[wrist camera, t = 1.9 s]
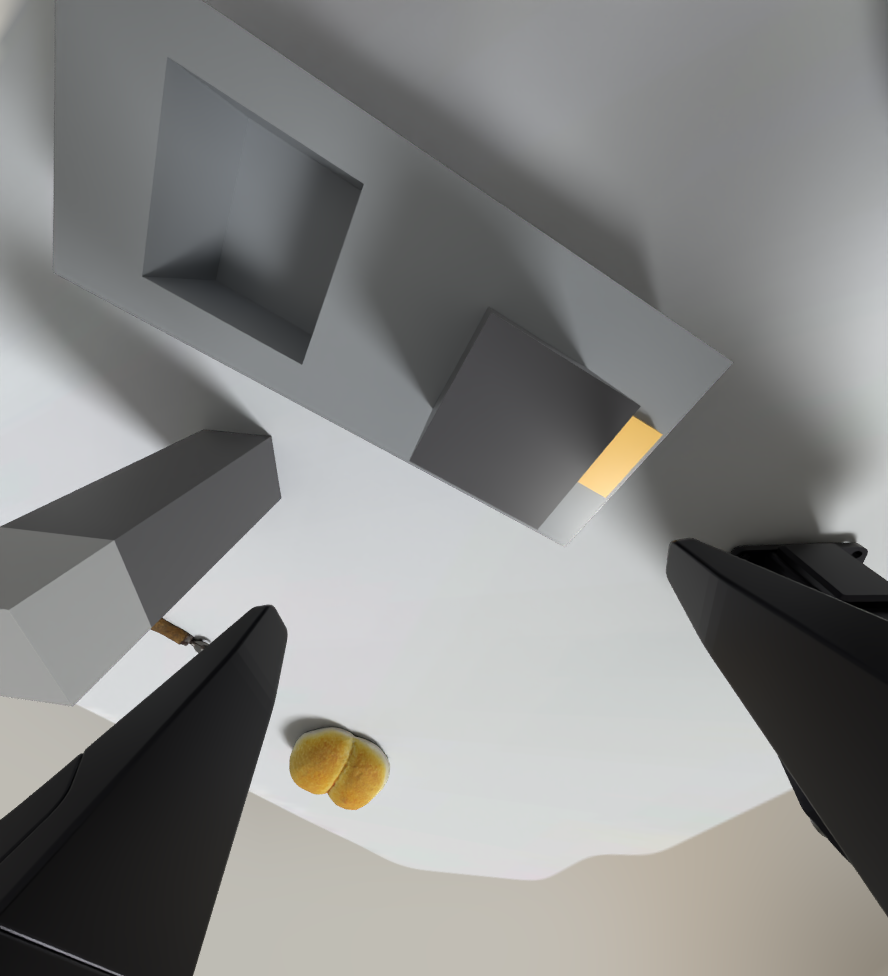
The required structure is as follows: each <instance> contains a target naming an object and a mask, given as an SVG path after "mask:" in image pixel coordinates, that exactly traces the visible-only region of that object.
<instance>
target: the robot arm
mask: <svg viewBox="0 0 888 976" xmlns="http://www.w3.org/2000/svg"><path fill="white" fill-rule="evenodd" d="M867 553H868V551H867V549H866V548H864V547H863V546H861V545H860V544H858V543H819V544H785V545H758V546H739V547H737V548H735V549H734V550H732V552H731V554H729V553H727V552H725V551H722V550H720V549H718V548H715V547H713V546H710V545H708V544H706V543H703V542H701V541H699V540H696V539H693V538H686V539H679V540H674V541H672V542H671V543H670V545H669V550H668V558H667V566H666V574H667V578H668V580H669V582H670V584H671V586H672V588H673V590H674V592H675V593H676V595H677V597H678V599H679V601H680V603H681V605H682V606H683V608H684V610H685V612H686V614H687V616H688V618H689V620H690V621H691V623H692V625H693V627H694V629H695V631H696V633H697V634H698V636H699V638H700V640H701V641H702V643H703V645H704V646H705V648H706V650H707V651H708V653H709V654H710V656H711V657H712V659H713V660H714V662H715V663H716V665H717V666H718V668H719V669H720V671H721V672H722V673H723V675H724V676H725V678H726V679H727V681H728V682H729V684H730V685H731V687H732V688H733V690H734V691H735V693H736V694H737V696H738V697H739V699H740V700H741V701H742V703H743V704H744V706H745V707H746V709H747V710H748V712H749V713H750V715H751V716H752V718H753V719H754V721H755V722H756V724H757V725H758V727H759V728H760V729H761V731H762V732H763V734H764V735H765V737H766V738H767V740H768V741H769V743H770V744H771V746H772V747H773V749H774V750H775V752H776V753H777V755H778V757H779V759H780V761H781V763H782V766H783V768H784V770H785V772H786V774H787V776H788V779H789V781H790V783H791V785H792V787H793V790H794V791H795V794H796V796H797V798H798V801H799V803H800V805H801V807H802V809H803V810H804V812H805V813H806V814H807V815H808V817H810V820H811V822H812V824H813V826H814V827H815V828H816V829H817V831H818V832H819V833H820V834H821V835H822V836H824V837H826V838H828V840H829V841H830V842H831V843H832V844H833V845H834V846H835V847H836V849H837V850H838V851H839V852H840V853H841V854H842V855H843V856H844V857H845V858H846V859H847V860H848V861H849V862H850V863H851V864H852V865H853V867H854V868H855V870H856V871H857V872H858V874H859V875H860V877H861V878H862V880H863V881H864V883H865V884H866V886H867V887H868V889H869V890H870V892H871V893H872V895H873V896H874V897H875V899H876V900H877V902H878V903H879V905H880V906H881V908H882V909H883V911H884V912H885V914H886V915H887V917H888V581H887V580H885V579H884V578H882V577H881V576H880V575H878V574H877V573H875V572H874V571H873V570H871V569H870V568H868V567H867V566H865V565H864V564H863V562H864V560H865V558H866V556H867ZM743 554H744V555H743ZM741 555H743V556H741ZM740 556H741V557H740ZM286 643H287V629H286V626H285V625H284V623H283V621H282V619H281V618H280V616H279V614H278V612H277V610H276V609H275V607H274V606H272V605H263V606H257V607H254V608H252V609H251V610H249V611H248V612H247V613H246V614H245V615H243V616H242V617H241V618H240V619H239V620H238V621H236V622H235V623H234V624H233V625H232V626H230V627H229V628H228V629H227V630H226V631H225V632H223V633H222V634H221V635H220V636H219V637H217V638H216V639H215V640H214V641H213V642H212V643H210V644H209V645H208V646H207V647H206V648H205V649H203V650H202V651H201V652H200V653H199V654H197V655H196V656H195V657H194V658H193V659H192V660H190V661H189V662H188V663H187V664H186V665H184V666H183V667H182V668H181V669H180V670H179V671H177V672H176V673H175V674H174V675H173V676H171V677H170V678H169V679H168V680H167V681H166V682H164V683H163V684H162V685H161V686H160V687H158V688H157V689H156V690H155V691H154V692H153V693H151V694H150V695H149V696H148V697H147V698H146V699H144V700H143V701H142V702H141V703H140V704H138V705H137V706H136V707H135V708H134V709H133V710H131V711H130V712H129V713H128V714H127V715H125V716H124V717H123V718H122V719H121V720H120V721H118V722H117V723H116V724H115V725H114V726H113V727H111V728H110V729H109V730H108V731H107V732H105V733H104V734H103V735H102V736H101V737H99V738H98V739H97V740H96V741H95V742H94V743H93V744H91V745H90V746H89V747H88V748H87V749H86V750H85V751H84V753H83V754H80V755H78V756H77V757H76V758H75V759H74V760H72V761H71V762H70V763H69V764H68V765H67V766H65V767H64V768H63V769H62V770H61V771H59V772H58V773H57V774H56V775H55V776H53V777H52V778H51V779H50V780H49V781H47V782H46V783H45V784H44V785H43V786H42V787H40V788H39V789H38V790H37V791H35V792H34V793H33V794H32V795H30V796H29V797H28V798H27V799H26V800H25V801H23V802H22V803H21V804H20V805H18V806H17V807H16V808H15V809H14V810H12V811H11V812H10V813H8V814H7V815H6V816H5V817H3V818H2V819H1V820H0V976H193V974H194V971H195V967H196V964H197V961H198V957H199V954H200V951H201V947H202V944H203V940H204V937H205V934H206V931H207V927H208V924H209V921H210V917H211V914H212V911H213V907H214V904H215V900H216V897H217V894H218V891H219V887H220V884H221V881H222V877H223V874H224V871H225V867H226V864H227V860H228V857H229V854H230V851H231V847H232V844H233V841H234V837H235V834H236V830H237V827H238V824H239V821H240V817H241V813H242V811H243V807H244V804H245V801H246V797H247V794H248V791H249V787H250V784H251V781H252V777H253V774H254V771H255V767H256V764H257V761H258V757H259V754H260V751H261V747H262V744H263V741H264V737H265V734H266V731H267V727H268V724H269V721H270V717H271V714H272V710H273V706H274V702H275V698H276V694H277V689H278V684H279V679H280V673H281V668H282V663H283V658H284V653H285V648H286Z"/></svg>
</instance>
